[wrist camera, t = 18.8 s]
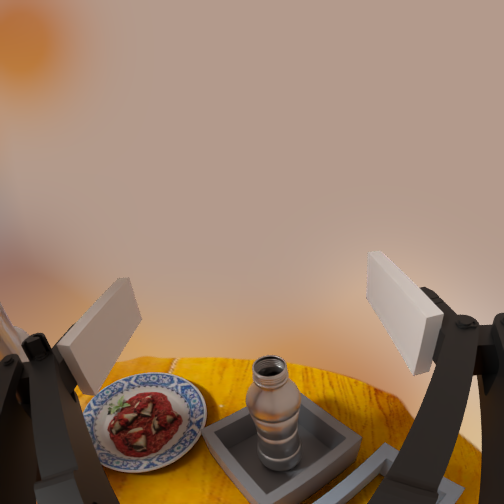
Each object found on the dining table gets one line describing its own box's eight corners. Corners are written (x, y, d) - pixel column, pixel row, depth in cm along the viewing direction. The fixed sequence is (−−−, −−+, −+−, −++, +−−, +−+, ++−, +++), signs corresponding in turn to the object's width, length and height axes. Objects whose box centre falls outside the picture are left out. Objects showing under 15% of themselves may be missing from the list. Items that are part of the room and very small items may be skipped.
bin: (210, 453, 39) (199, 429, 36) (289, 409, 46) (287, 382, 44) (268, 523, 26) (263, 508, 23) (355, 460, 33) (362, 437, 31)
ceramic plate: (239, 419, 46) (236, 409, 45) (124, 503, 28) (115, 495, 27) (159, 364, 63) (155, 354, 62) (68, 416, 45) (61, 407, 44)
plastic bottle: (272, 482, 32) (256, 397, 25) (251, 452, 37) (228, 359, 31) (311, 463, 34) (313, 370, 27) (288, 435, 40) (280, 340, 33)
